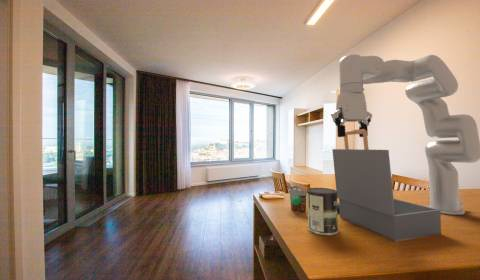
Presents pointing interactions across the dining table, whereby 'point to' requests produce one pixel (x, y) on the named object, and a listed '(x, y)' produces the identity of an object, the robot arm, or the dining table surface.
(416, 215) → the box
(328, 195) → the coffee can
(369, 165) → the lid
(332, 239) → the dining table surface
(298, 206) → the food container
